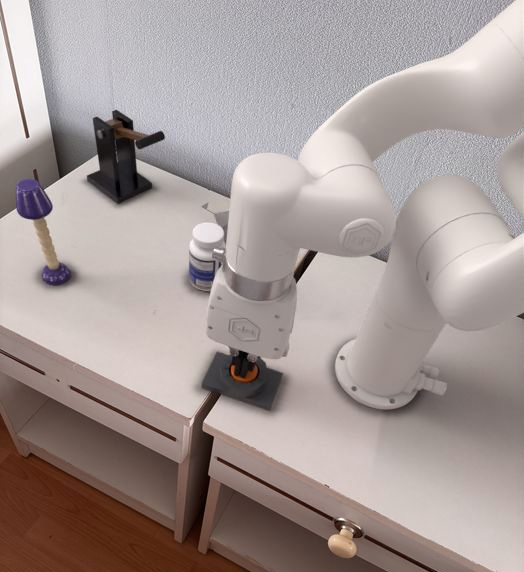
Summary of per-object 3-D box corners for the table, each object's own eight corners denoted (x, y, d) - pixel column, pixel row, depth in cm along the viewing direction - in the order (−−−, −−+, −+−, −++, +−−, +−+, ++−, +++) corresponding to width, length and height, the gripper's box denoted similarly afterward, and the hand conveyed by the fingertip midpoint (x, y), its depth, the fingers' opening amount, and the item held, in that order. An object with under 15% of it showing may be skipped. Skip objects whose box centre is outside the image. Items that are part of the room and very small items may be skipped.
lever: (166, 143, 84) (163, 128, 83) (142, 153, 82) (138, 138, 80) (122, 130, 91) (119, 116, 89) (99, 139, 88) (95, 125, 87)
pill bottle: (210, 263, 86) (213, 215, 79) (230, 284, 84) (235, 236, 76) (181, 276, 84) (181, 227, 76) (201, 297, 81) (203, 249, 74)
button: (259, 370, 72) (260, 363, 71) (251, 390, 70) (252, 383, 68) (235, 362, 72) (236, 355, 71) (226, 382, 70) (227, 375, 69)
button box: (282, 376, 74) (285, 363, 71) (269, 412, 70) (272, 400, 67) (217, 354, 75) (218, 342, 72) (200, 389, 71) (201, 377, 68)
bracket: (152, 188, 97) (148, 123, 87) (118, 204, 93) (110, 138, 83) (121, 166, 100) (115, 101, 90) (87, 181, 96) (76, 114, 86)
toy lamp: (51, 291, 78) (24, 199, 65) (31, 276, 80) (1, 183, 67) (76, 275, 81) (55, 184, 68) (56, 261, 82) (32, 169, 69)
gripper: (180, 271, 54) (180, 372, 68) (317, 314, 52) (287, 408, 67) (206, 229, 58) (201, 332, 73) (332, 268, 57) (302, 365, 71)
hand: (242, 369), depth 70 cm, fingers closed
